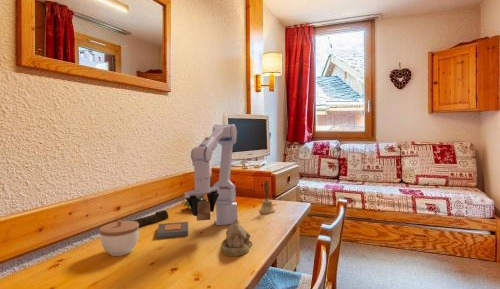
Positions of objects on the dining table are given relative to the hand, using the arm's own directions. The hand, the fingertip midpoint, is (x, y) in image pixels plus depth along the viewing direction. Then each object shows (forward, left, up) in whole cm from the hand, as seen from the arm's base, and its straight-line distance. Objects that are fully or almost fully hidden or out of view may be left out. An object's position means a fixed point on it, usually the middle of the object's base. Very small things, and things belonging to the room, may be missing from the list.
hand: (203, 213), depth 116 cm
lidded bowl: (+29, +5, -10) cm, 31 cm away
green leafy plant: (+2, -44, -10) cm, 45 cm away
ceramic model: (-11, +12, -10) cm, 19 cm away
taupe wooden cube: (0, 0, -2) cm, 2 cm away
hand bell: (-33, -30, -10) cm, 46 cm away
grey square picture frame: (+12, -11, -10) cm, 19 cm away
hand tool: (+23, -26, -10) cm, 36 cm away
